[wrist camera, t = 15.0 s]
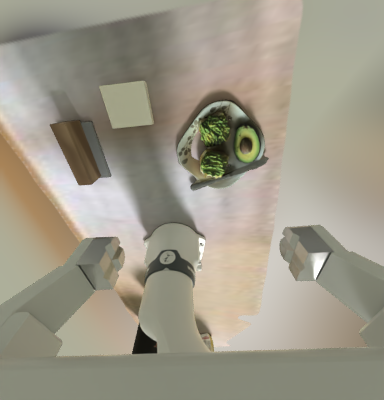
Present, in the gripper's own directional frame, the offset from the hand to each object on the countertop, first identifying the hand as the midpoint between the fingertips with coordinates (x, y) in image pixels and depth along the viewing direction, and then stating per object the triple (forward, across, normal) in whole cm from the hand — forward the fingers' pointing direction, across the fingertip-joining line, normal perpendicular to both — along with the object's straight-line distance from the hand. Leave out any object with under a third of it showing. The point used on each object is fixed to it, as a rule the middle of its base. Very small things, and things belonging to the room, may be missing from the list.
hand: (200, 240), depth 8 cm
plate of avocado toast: (+32, -6, +4) cm, 33 cm away
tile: (+30, +16, -6) cm, 35 cm away
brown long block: (+30, +24, +2) cm, 39 cm away
